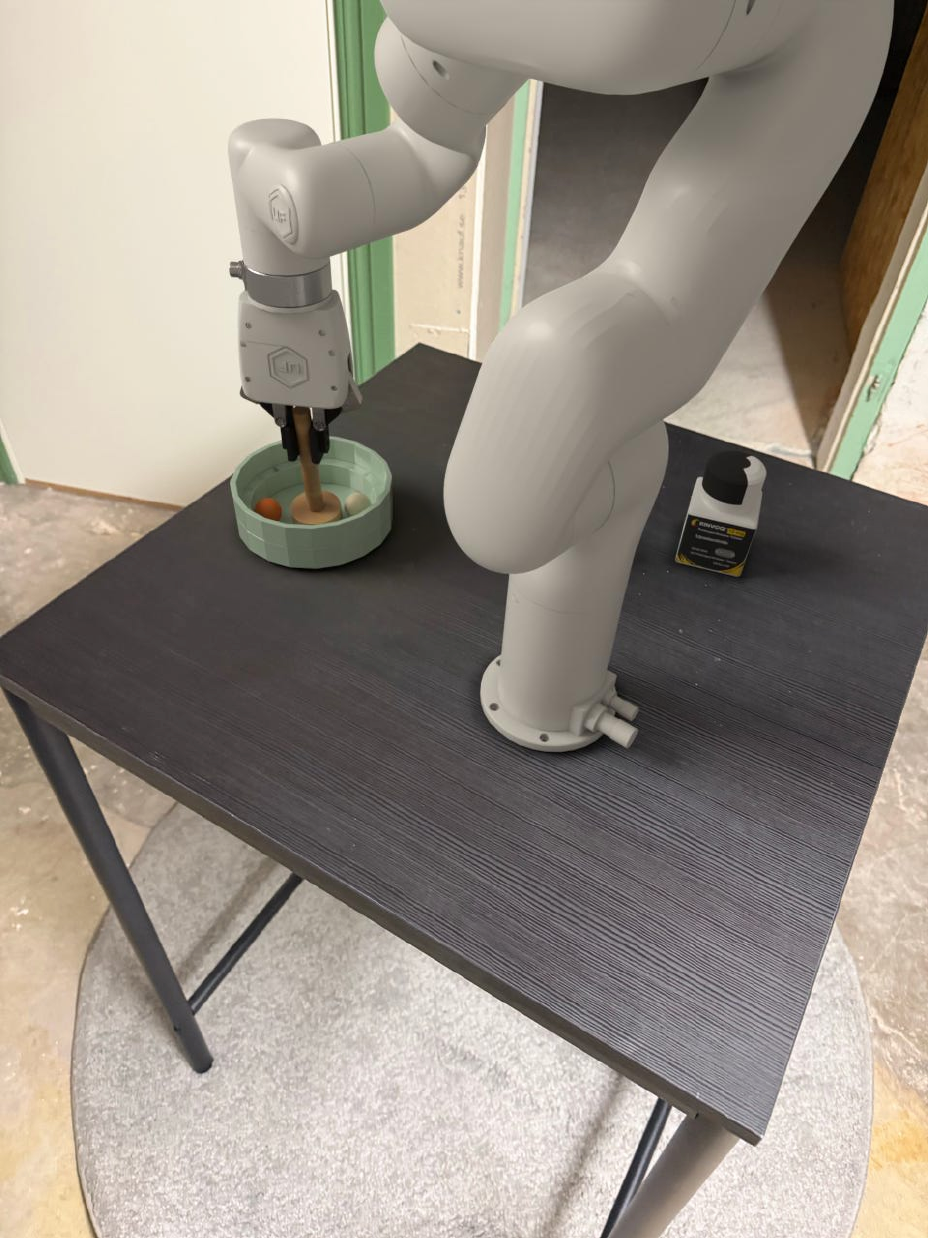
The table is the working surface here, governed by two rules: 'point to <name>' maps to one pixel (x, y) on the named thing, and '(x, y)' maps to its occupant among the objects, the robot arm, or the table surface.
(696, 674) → the table surface
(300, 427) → the wooden mushroom stand
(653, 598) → the table surface
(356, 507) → the bead cream
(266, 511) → the bead orange
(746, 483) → the medicine bottle
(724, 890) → the table surface
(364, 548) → the bowl
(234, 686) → the table surface
